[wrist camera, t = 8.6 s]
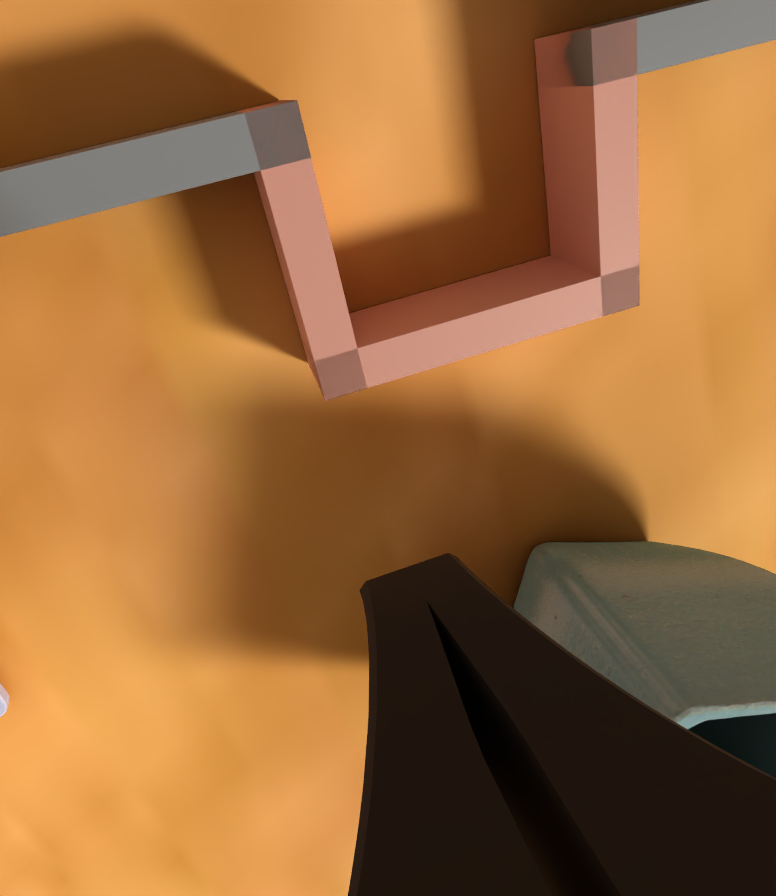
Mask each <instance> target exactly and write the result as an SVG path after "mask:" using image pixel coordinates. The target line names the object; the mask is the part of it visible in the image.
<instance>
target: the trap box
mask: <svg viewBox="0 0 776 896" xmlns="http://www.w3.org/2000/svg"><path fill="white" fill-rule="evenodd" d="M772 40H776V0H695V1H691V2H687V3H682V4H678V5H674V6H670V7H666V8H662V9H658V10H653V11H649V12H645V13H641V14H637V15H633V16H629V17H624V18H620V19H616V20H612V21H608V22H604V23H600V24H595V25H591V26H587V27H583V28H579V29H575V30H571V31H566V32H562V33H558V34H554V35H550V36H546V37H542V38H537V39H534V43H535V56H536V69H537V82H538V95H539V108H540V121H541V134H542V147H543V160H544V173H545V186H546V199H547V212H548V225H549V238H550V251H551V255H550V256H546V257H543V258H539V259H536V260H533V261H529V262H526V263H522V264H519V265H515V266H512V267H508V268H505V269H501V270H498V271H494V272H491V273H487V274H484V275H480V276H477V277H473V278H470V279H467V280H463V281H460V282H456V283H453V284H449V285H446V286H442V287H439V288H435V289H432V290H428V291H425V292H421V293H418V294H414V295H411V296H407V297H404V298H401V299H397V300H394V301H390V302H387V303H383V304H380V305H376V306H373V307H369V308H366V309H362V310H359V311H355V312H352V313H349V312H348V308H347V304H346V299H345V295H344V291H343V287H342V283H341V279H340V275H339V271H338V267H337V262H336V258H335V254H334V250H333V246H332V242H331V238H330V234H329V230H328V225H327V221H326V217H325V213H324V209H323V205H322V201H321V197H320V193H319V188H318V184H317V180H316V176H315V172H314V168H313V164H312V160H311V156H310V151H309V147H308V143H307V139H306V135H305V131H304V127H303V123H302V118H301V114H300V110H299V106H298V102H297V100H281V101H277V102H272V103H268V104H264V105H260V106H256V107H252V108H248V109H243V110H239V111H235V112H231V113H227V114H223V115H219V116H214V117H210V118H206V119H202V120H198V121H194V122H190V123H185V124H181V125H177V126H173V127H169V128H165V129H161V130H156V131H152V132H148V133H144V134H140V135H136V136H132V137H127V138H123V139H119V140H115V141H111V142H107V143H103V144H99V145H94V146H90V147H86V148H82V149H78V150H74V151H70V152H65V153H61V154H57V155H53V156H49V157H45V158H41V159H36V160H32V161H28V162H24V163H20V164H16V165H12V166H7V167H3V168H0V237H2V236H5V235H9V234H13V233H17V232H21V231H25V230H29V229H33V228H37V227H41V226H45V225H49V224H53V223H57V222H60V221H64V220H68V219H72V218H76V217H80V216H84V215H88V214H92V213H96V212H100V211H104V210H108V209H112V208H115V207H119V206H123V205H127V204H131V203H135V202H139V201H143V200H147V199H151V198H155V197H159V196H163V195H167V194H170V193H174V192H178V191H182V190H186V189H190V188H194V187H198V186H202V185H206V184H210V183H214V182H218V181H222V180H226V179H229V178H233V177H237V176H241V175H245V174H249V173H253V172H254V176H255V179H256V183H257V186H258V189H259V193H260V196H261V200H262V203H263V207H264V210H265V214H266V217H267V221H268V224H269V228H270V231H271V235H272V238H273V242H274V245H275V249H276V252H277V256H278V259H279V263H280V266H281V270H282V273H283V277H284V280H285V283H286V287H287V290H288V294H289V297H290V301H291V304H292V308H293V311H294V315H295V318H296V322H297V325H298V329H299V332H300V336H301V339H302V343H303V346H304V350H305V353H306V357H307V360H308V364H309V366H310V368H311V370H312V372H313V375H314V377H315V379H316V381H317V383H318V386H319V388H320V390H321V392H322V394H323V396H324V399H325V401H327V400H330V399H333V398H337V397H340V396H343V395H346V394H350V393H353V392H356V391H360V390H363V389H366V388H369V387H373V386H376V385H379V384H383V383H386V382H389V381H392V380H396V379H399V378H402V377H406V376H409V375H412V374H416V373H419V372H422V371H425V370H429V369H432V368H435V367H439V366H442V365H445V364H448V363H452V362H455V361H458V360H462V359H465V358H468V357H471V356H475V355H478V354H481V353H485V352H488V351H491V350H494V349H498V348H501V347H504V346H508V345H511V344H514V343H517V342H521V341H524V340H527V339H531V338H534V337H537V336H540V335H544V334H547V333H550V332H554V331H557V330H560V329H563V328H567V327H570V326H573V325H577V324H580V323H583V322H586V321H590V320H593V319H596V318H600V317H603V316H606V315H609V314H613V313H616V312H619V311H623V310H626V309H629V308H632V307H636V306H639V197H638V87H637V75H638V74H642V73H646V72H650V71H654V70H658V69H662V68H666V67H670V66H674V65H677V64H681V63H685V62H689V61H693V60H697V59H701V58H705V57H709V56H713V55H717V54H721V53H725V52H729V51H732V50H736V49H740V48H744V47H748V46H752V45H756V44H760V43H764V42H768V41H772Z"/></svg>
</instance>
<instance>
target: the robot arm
mask: <svg viewBox="0 0 776 896" xmlns="http://www.w3.org/2000/svg"><path fill="white" fill-rule="evenodd" d="M360 593H361V596H362V599H363V603H364V608H365V614H366V621H367V631H368V645H369V718H368V733H367V746H366V759H365V771H364V784H363V793H362V802H361V810H360V819H359V826H358V834H357V841H356V848H355V854H354V861H353V867H352V874H351V880H350V886H349V892H348V896H776V778H774V777H772V776H770V775H768V774H766V773H764V772H763V771H761V770H759V769H757V768H755V767H753V766H752V765H750V764H748V763H746V762H744V761H743V760H741V759H739V758H737V757H735V756H733V755H732V754H730V753H728V752H726V751H724V750H723V749H721V748H719V747H717V746H715V745H713V744H712V743H710V742H708V741H706V740H705V739H703V738H701V737H700V736H698V735H696V734H695V733H693V732H691V731H689V730H688V729H686V728H684V727H683V726H681V725H679V724H678V723H676V722H674V721H672V720H671V719H669V718H667V717H666V716H664V715H663V714H661V713H659V712H658V711H656V710H655V709H653V708H651V707H650V706H648V705H647V704H645V703H644V702H642V701H640V700H639V699H637V698H636V697H634V696H633V695H631V694H630V693H628V692H626V691H625V690H624V689H622V688H621V687H619V686H618V685H616V684H615V683H613V682H612V681H610V680H609V679H607V678H606V677H604V676H603V675H601V674H600V673H598V672H597V671H596V670H594V669H593V668H591V667H590V666H588V665H587V664H586V663H584V662H583V661H581V660H580V659H579V658H577V657H576V656H574V655H573V654H572V653H570V652H569V651H568V650H566V649H565V648H564V647H562V646H561V645H560V644H558V643H557V642H556V641H554V640H553V639H552V638H551V637H549V636H548V635H547V634H545V633H544V632H543V631H541V630H540V629H539V628H537V627H536V626H535V625H533V624H532V623H531V622H530V621H528V620H527V619H526V618H525V617H523V616H522V615H521V614H520V613H518V612H517V611H516V610H515V609H514V608H512V607H511V606H510V605H509V604H508V603H506V602H505V601H504V600H503V599H502V598H501V597H499V596H498V595H497V594H496V593H495V592H494V591H492V590H491V589H490V588H489V587H488V586H487V585H486V584H484V583H483V582H482V581H481V580H480V579H479V578H478V577H477V576H476V575H475V574H474V573H473V572H471V571H470V570H469V569H468V568H467V567H466V566H465V565H464V564H463V563H462V562H461V561H460V560H459V559H458V558H457V557H456V556H453V555H451V554H449V553H447V554H444V555H441V556H438V557H435V558H432V559H429V560H426V561H424V562H421V563H418V564H415V565H412V566H409V567H406V568H403V569H400V570H397V571H394V572H392V573H389V574H386V575H383V576H380V577H377V578H374V579H371V580H368V581H366V582H365V583H364V585H363V586H362V588H361V589H360ZM9 699H10V698H9V695H8V693H7V692H6V690H5V689H4V688H3V686H2V685H1V684H0V717H1V716H3V714H4V713H5V712H6V710H7V707H8V704H9Z"/></svg>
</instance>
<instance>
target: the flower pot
mask: <svg viewBox="0 0 776 896" xmlns="http://www.w3.org/2000/svg"><path fill="white" fill-rule="evenodd" d="M513 608H514V609H515V610H516V611H517V612H518V613H520V614H521V615H522V616H523V617H525V618H526V619H527V620H528V621H530V622H531V623H532V624H533V625H535V626H536V627H537V628H539V629H540V630H541V631H543V632H544V633H545V634H547V635H548V636H549V637H551V638H552V639H553V640H554V641H556V642H557V643H558V644H560V645H561V646H562V647H564V648H565V649H566V650H568V651H569V652H570V653H572V654H573V655H574V656H576V657H577V658H579V659H580V660H581V661H583V662H584V663H586V664H587V665H588V666H590V667H591V668H593V669H594V670H596V671H597V672H598V673H600V674H601V675H603V676H604V677H606V678H607V679H609V680H610V681H612V682H613V683H615V684H616V685H618V686H619V687H621V688H622V689H624V690H625V691H626V692H628V693H630V694H631V695H633V696H634V697H636V698H637V699H639V700H640V701H642V702H644V703H645V704H647V705H648V706H650V707H651V708H653V709H655V710H656V711H658V712H659V713H661V714H663V715H664V716H666V717H667V718H669V719H671V720H672V721H674V722H676V723H678V724H679V725H681V726H683V727H684V728H686V729H688V730H689V731H691V732H693V733H695V734H696V735H698V736H700V737H701V738H703V739H705V740H706V741H708V742H710V743H712V744H713V745H715V746H717V747H719V748H721V749H723V750H724V751H726V752H728V753H730V754H732V755H733V756H735V757H737V758H739V759H741V760H743V761H744V762H746V763H748V764H750V765H752V766H753V767H755V768H757V769H759V770H761V771H763V772H764V773H766V774H768V775H770V776H772V777H774V778H776V574H774V573H771V572H769V571H767V570H765V569H762V568H760V567H757V566H754V565H752V564H749V563H746V562H744V561H741V560H737V559H734V558H731V557H728V556H724V555H721V554H717V553H713V552H709V551H704V550H700V549H695V548H689V547H684V546H678V545H671V544H664V543H658V542H546V543H543V544H539V545H538V546H536V547H535V548H534V549H533V551H532V552H531V554H530V556H529V559H528V562H527V565H526V568H525V572H524V575H523V578H522V581H521V585H520V588H519V591H518V594H517V598H516V601H515V604H514V607H513Z"/></svg>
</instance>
